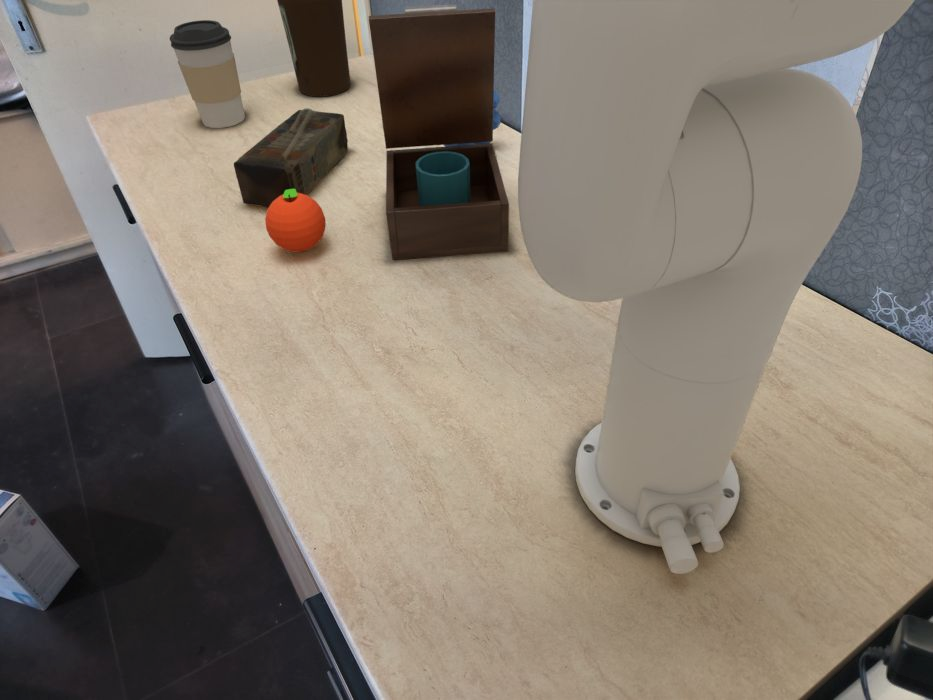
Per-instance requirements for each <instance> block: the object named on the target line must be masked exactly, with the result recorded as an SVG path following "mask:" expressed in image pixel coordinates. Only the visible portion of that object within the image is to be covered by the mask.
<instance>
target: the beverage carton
mask: <svg viewBox="0 0 933 700" xmlns="http://www.w3.org/2000/svg"><path fill="white" fill-rule="evenodd" d="M347 133H348V132H347V127H346V121H345V115H344V114H343V113H339V112H326V111H316V110H313V109H312V108H309V107H306V108H303V109H298V110H297V111H295V112H294V113H293V114H292V115H290V116H289V117H288V118H287V119H285V120H284V121H283V122H282V123H280V124H279V125H277V126H276V127H275V128H274V129H272V131H270V132H268V134H266V136H264V137H263V138H262V139H260V140H259V141H258V142H257V143H256V144H254V145H253V146H252V147H251V148H249V149H248V150H247V151H246V152H245V153H243V154H242V155H241V156H240V157H238V159H237V160H236V161H235V162H233V168H234V173H235V178H236V180H237V184H238V187H239V191H240V195H241V198H242V203H243V204H245V205H251V206H256V207H257V206H258V207H264V208H265V207H266V208H269V206H270V204H271V203H272V202H273V201H274V200H275V199H277V198H278V197H279V196H281V195H283V194H284V192H285V190H288V189H296V192H297V193H301V194H304V195H307V196H308V195H309V193H311V192H312V191H313V189H314V188H316V186H317V185H318V184H319V183H320V182H321V180H323V179H324V178H325V176H326V175H327V174H328V173H329V172H330V171H331V170H332V169H333V168H334V167H335V166H336V164H337V163H338V162H339V161H340V160H341V159H342V157H344V156H345V154H346V153H347V152H348V151H349V146H348V145H349V144H348V142H349V140H348V134H347Z"/></svg>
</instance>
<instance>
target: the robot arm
mask: <svg viewBox="0 0 933 700" xmlns="http://www.w3.org/2000/svg"><path fill="white" fill-rule="evenodd" d="M914 2H915V0H532V8H531V9H532V10H531V22H530V30H529V31H530V32H529V43H528V44H529V45H528V53H527V54H528V56H527V65H526V77H525V89H524V103H523V112H522V113H523V114H522V125H521V136H520V146H519V159H518V174H517V175H518V177H517V178H518V179H517V203H518V215H519V224H520V231H521V235H522V240H523V243H524V247H525V250H526V252H527V255H528V257H529V259H530V263H531V264H532V266H533V268H534V269H535V271H536V272H537V274H538V275H539V277H540V278H541V279H542V280H543V281H544V282H545V284H546V285H547V286H549V287H550V288H551V289H552V290H554V291H555V292H557V293H558V294H560V295H562V296H564V297H565V298H569V299H571V300H575V301H578V302H585V303H602V302H603V303H604V302H611V301H616V300H620V299H622V300H621V303H620V308H619V316H618V320H617V326H616V331H615V338H614V344H613V345H614V346H613V349H612V356H611V363H610V369H609V375H608V382H607V387H606V393H605V401H604V407H603V414H602V420H601V422H599V423H598V424H597V425H595V426H594V427H593V428H592V429H590V431H589V432H588V433H587V434H586V435H585V436H584V438H583V439H582V440H581V443H580V445H579V446H578V449H577V453H576V459H575V469H574V474H575V481H576V487H577V489H578V492H579V494H580V496H581V498H582V500H583V501H584V503H585V504H586V505H587V508H588V509H589V510H590V511H591V513H593V514H594V516H595V517H596V518H597V519H598V520H599V521H600V522H601V523H603V524H604V525H605V526H607V527H608V528H609V529H611V530H612V531H613V532H616V533H618V534H619V535H621V536H623V537H625V538H626V539H629V540H633V541H635V542H638V543H641V544H644V545H649V546H655V547H659V548H662V552H663V555H664V557H665V560H666V563H667V565H668V568H669V570H670V571H669V572H671V573H672V574H676V575H684V574H688V573H691V572H692V571H694V570H695V569H697V568H698V566H699V561H698V557H697V555H696V553H695V551H694V548H693V545H696V544H698V543H701V545H702V548H703V550H704V552H706V553H710V554H711V553H716V552H719V551H721V550H722V549H723V548H724V547H725V543H724V541H723V539H722V536H721V533H720V532H721V531H722V530H723V529H724V528H725V527H726V526H727V525H728V524H729V522H730V520H731V519H732V517H733V515H734V513H735V511H736V508H737V505H738V503H739V499H740V489H741V485H740V478H739V474H738V471H737V469H736V467H735V463H734V461H733V460H732V456H733V453H734V451H735V448H736V445H737V443H738V440H739V437H740V435H741V432H742V430H743V427H744V425H745V422H746V420H747V417H748V414H749V412H750V408H751V406H752V404H753V401H754V399H755V395H756V392H757V390H758V388H759V385H760V382H761V380H762V376H763V375H764V373H765V371H766V367H767V364H768V361H769V360H770V357H771V355H772V353H773V350H774V348H775V345H776V342H777V340H778V338H779V335H780V332H781V330H782V328H783V325H784V322H785V320H786V318H787V315H788V313H789V312H790V311H789V310H790V309H791V307H792V304H793V302H794V300H795V298H796V297H797V294H798V292H799V290H800V289H801V287H802V285H803V283H804V281H805V280H806V278H807V277H808V275H809V273H810V271H811V270H812V268H813V267H814V265H815V264H816V262H817V261H818V259H819V257H821V254H823V251H824V250H825V249H826V247H827V245H828V243H829V242H830V241H831V239H832V237H833V236H834V234H835V233H836V231H837V229H838V228H839V226H840V225H841V224H840V223H841V222H842V220H843V218H844V216H845V215H846V213H847V211H848V209H849V208H850V205H851V202H852V199H853V197H854V194H855V192H856V189H857V186H858V184H859V183H858V182H859V178H860V174H861V169H862V161H863V138H862V133H861V128H860V123H859V121H858V118H857V115H856V113H855V111H854V109H853V107H852V105H851V104H850V102H849V101H848V99H847V98H846V97H845V96H844V94H842V92H841V91H840V90H839V89H838V88H837V87H836V86H834V85H833V84H832V83H831V82H829V81H827V80H826V79H824V78H822V77H820V76H818V75H816V74H814V73H811V72H808V71H805V70H801V69H796V68H795V67H800V66H803V65H808V64H812V63H815V62H819V61H822V60H827V59H831V58H833V57H837V56H840V55H843V54H845V53H848V52H851V51H854V50H856V49H858V48H861V47H863V46H865V45H866V44H869V43H870V42H872V41H874V40H876V39H877V38H879V37H880V36H882V35H883V34H885V33H886V32H888V31H889V30H890V29H891V28H892V27H893V26H894V25H895V24H897V22H898V21H899V20H900V19H901V18H902V17H903V16H904V14H905V13H906V12H907V11H908V9H910V7H911V6H912V5H913V4H914Z"/></svg>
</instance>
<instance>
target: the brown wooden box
mask: <svg viewBox="0 0 933 700" xmlns="http://www.w3.org/2000/svg"><path fill="white" fill-rule="evenodd" d="M441 151H449V152H457V153H459V154H462V155H464V156H466V157H467V158H468V159H469V164H470V194H471V203H458V204H445V205H431V206H419V197H418V186H417V175H416V162H417V160H418V159H419V158H420V157H422V156H424V155H426V154H429V153H433V152H441ZM385 153H386V155H385V159H386V161H385V163H386V164H385V165H386V166H385V168H386V169H385V172H386V173H385V174H386V175H385V178H386V179H385V183H386V184H385V194H386V196H385V202H386V203H385V215H386V223H387V231H388V236H389V237H388V238H389V245H390V253H391V260H392V261H400V260H401V261H402V260H412V259H413V260H414V259H425V258H427V259H428V258H439V257H451V256H453V257H454V256H463V255H465V256H466V255H476V254H478V255H479V254H490V253H503V252H509V240H510V239H509V238H510V237H509V235H510V234H509V233H510V230H509V229H510V202H509V199H508V195H507V191H506V187H505V184H504V180H503V177H502V173H501V169H500V166H499V161H498V159H497V155H496V151H495V148H494V144H493V143H492V142H490V143H489V144H474V145H460V146H433V147H431V146H430V147H419V148H417V147H416V148H404V149H403V148H402V149H391V150H386V151H385Z"/></svg>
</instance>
